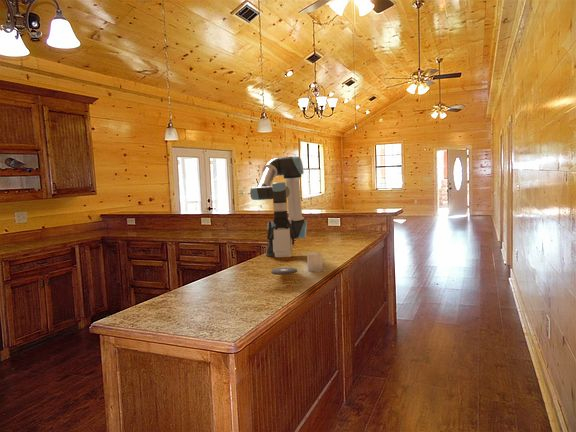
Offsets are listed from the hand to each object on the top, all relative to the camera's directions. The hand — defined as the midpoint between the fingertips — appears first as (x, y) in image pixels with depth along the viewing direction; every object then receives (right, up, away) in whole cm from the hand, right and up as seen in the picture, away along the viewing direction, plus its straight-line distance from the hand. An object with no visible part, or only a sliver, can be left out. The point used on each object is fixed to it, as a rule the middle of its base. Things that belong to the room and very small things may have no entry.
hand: (282, 251), depth 235 cm
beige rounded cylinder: (+18, -10, -1) cm, 21 cm away
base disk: (+1, -11, +1) cm, 11 cm away
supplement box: (0, -3, 0) cm, 3 cm away
